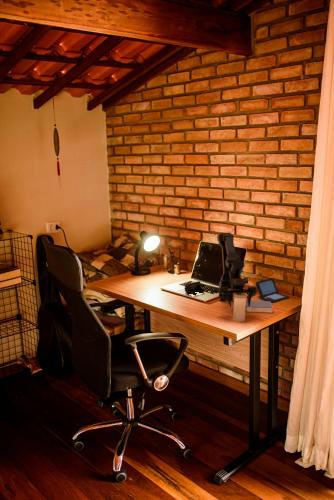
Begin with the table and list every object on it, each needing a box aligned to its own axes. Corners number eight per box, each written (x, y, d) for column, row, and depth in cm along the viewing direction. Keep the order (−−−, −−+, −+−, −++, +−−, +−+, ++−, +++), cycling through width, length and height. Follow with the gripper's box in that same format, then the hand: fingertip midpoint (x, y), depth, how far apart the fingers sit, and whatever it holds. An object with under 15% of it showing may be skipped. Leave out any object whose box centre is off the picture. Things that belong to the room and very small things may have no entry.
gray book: (245, 312, 245) (245, 306, 244) (243, 305, 255) (244, 300, 254) (272, 313, 243) (273, 307, 243) (270, 306, 253) (270, 301, 253)
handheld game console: (272, 304, 259) (273, 287, 257) (253, 297, 269) (254, 282, 267) (290, 298, 268) (291, 283, 266) (271, 292, 278) (272, 277, 276)
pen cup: (231, 321, 232) (232, 295, 229) (234, 316, 238) (235, 292, 235) (243, 322, 230) (245, 297, 227) (246, 318, 236) (247, 293, 233)
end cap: (196, 291, 280) (196, 280, 278) (205, 293, 274) (205, 282, 273) (184, 294, 273) (184, 283, 272) (192, 297, 268) (193, 286, 266)
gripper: (220, 271, 232) (224, 299, 224) (257, 271, 234) (262, 299, 226) (216, 282, 242) (220, 309, 233) (252, 281, 243) (257, 309, 235)
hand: (240, 306), depth 232 cm, fingers open, 9 cm apart
